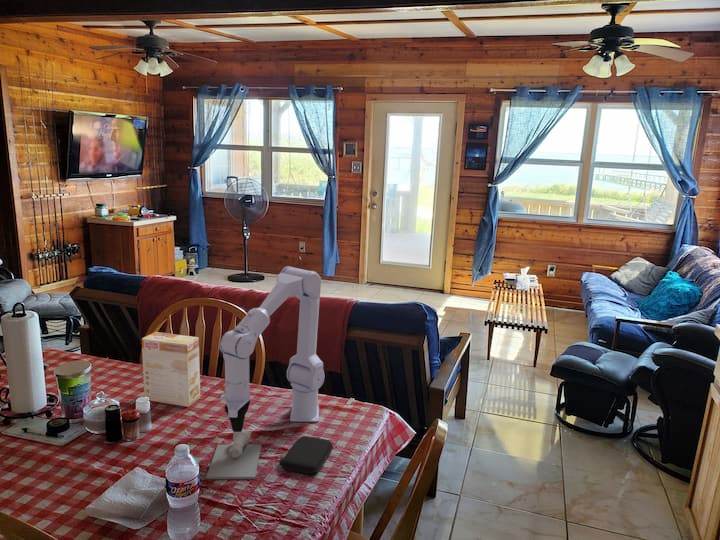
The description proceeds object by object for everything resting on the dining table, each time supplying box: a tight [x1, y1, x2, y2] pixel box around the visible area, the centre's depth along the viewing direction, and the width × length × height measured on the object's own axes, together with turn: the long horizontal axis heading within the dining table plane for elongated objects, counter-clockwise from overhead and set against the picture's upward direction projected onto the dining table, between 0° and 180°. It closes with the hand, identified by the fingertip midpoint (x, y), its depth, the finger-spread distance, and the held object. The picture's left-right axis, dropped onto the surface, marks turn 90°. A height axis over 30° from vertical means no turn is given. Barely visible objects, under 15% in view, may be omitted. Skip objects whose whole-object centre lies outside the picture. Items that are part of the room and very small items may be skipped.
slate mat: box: [205, 444, 262, 480], centre depth 132 cm, size 14×11×1 cm
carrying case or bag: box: [278, 435, 334, 477], centre depth 135 cm, size 11×3×15 cm
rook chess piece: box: [229, 428, 252, 459], centre depth 136 cm, size 4×4×8 cm
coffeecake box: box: [141, 331, 201, 408], centre depth 162 cm, size 15×7×20 cm, turn 76°
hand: (237, 430), depth 135 cm, fingers closed
